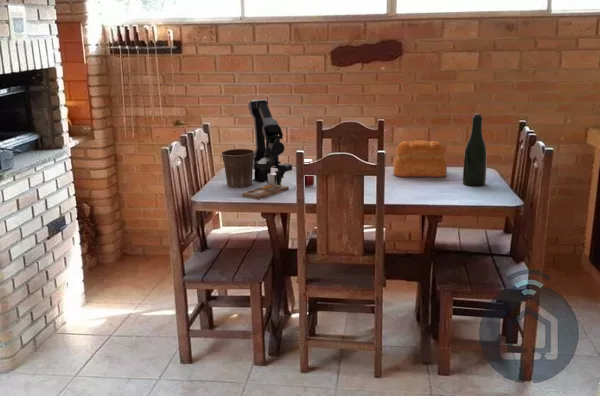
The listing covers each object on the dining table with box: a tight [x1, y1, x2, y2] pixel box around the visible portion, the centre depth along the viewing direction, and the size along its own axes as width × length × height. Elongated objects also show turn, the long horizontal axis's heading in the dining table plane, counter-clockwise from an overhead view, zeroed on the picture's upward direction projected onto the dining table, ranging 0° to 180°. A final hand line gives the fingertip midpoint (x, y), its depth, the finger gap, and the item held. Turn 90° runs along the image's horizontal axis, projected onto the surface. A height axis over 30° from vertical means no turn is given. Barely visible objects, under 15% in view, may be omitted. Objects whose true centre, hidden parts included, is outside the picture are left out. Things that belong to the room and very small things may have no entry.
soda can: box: [304, 158, 315, 188], centre depth 294 cm, size 7×7×12 cm
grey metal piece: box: [262, 172, 279, 189], centre depth 284 cm, size 8×4×6 cm, turn 143°
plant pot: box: [220, 148, 255, 188], centre depth 297 cm, size 16×16×16 cm
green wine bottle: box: [462, 113, 488, 187], centre depth 286 cm, size 10×10×33 cm
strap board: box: [242, 184, 290, 200], centre depth 282 cm, size 21×10×2 cm, turn 143°
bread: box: [392, 139, 448, 178], centre depth 310 cm, size 16×26×17 cm, turn 84°
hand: (273, 184), depth 286 cm, fingers open, 6 cm apart
